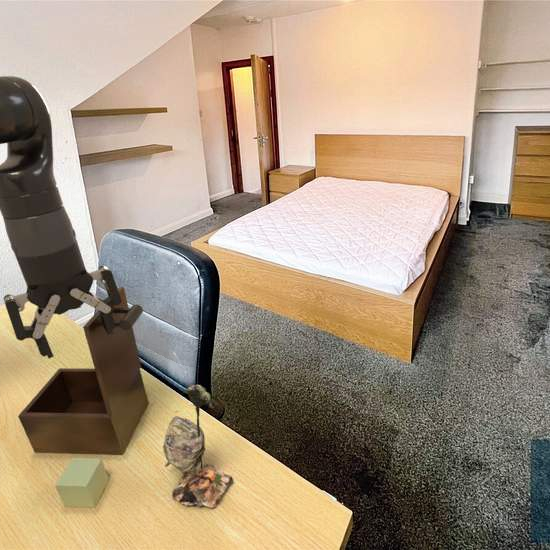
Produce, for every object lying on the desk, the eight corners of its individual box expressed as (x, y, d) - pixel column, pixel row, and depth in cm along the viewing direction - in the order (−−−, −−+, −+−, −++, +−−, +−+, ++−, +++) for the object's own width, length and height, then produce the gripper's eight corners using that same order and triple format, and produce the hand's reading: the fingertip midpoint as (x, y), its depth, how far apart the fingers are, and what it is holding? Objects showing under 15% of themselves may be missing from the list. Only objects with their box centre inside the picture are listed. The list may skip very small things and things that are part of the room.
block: (64, 506, 64) (54, 485, 62) (80, 478, 69) (72, 457, 66) (94, 507, 64) (86, 486, 61) (109, 479, 68) (101, 458, 66)
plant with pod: (192, 451, 72) (172, 360, 63) (240, 483, 66) (225, 386, 57) (155, 486, 66) (127, 390, 58) (204, 524, 60) (181, 424, 51)
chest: (34, 452, 74) (17, 416, 70) (71, 402, 86) (59, 368, 82) (122, 455, 72) (110, 417, 68) (148, 403, 84) (139, 368, 80)
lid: (82, 326, 61) (117, 327, 60) (119, 286, 72) (149, 287, 72) (107, 415, 68) (138, 416, 68) (137, 366, 80) (164, 367, 79)
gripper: (92, 223, 61) (119, 316, 68) (-20, 251, 53) (24, 352, 60) (107, 235, 55) (135, 335, 62) (-15, 268, 48) (32, 377, 55)
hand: (80, 343), depth 61 cm, fingers open, 8 cm apart
